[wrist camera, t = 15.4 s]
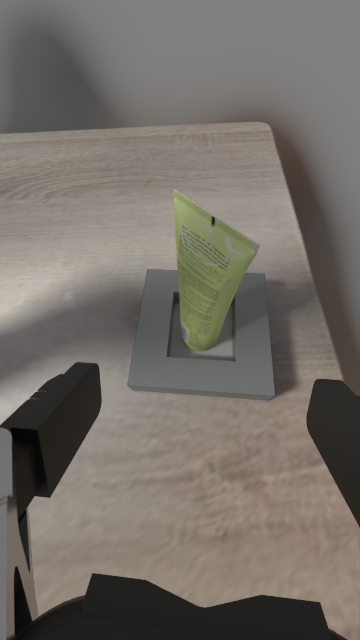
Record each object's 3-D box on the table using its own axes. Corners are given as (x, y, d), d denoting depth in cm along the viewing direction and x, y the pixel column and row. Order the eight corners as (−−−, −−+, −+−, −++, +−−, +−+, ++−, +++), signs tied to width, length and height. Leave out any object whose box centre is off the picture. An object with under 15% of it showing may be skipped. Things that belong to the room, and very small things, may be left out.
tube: (223, 318, 35) (255, 188, 17) (223, 354, 33) (260, 244, 15) (182, 316, 35) (172, 187, 18) (179, 351, 33) (165, 242, 16)
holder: (134, 392, 32) (127, 384, 28) (151, 285, 39) (147, 269, 35) (265, 402, 31) (274, 395, 27) (258, 290, 38) (264, 273, 34)
